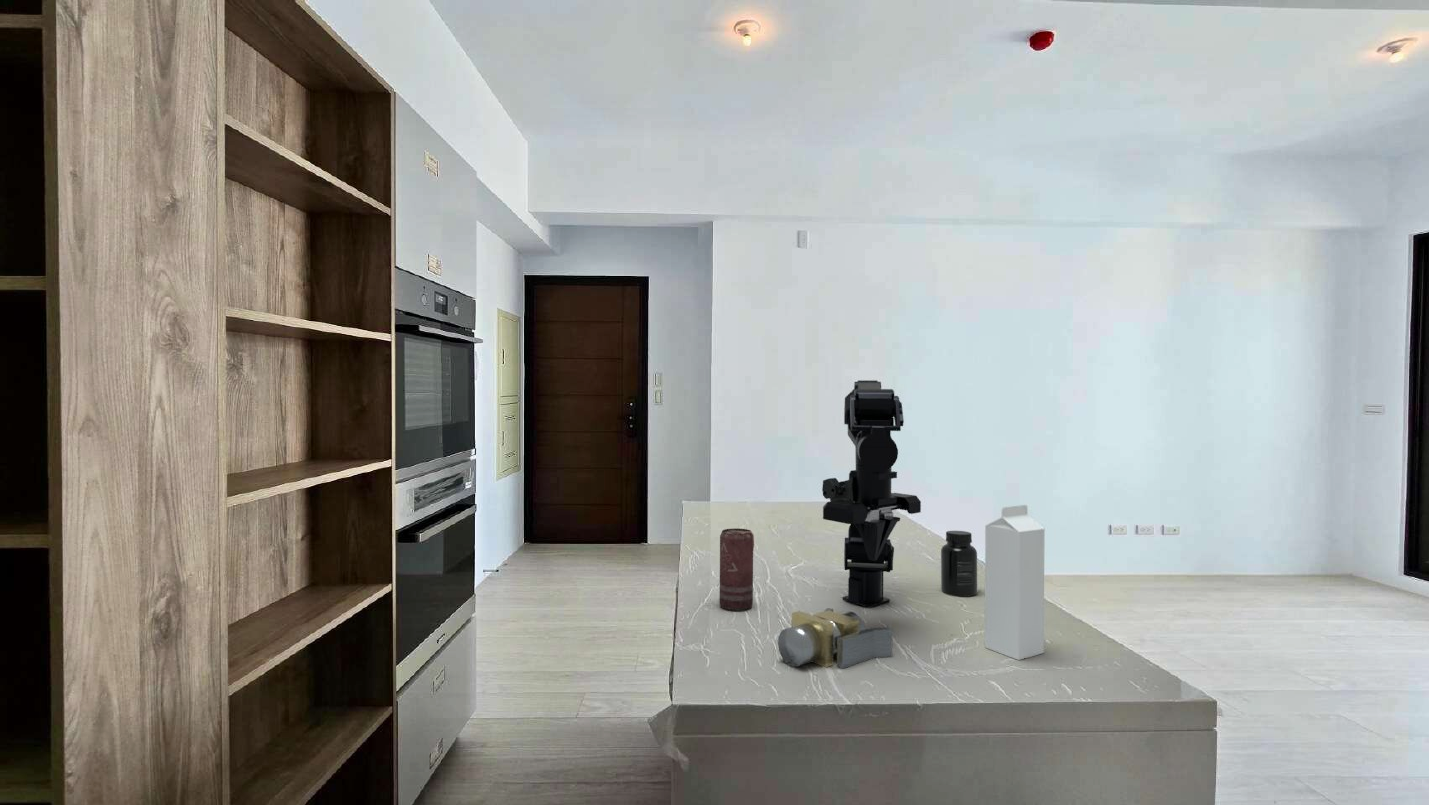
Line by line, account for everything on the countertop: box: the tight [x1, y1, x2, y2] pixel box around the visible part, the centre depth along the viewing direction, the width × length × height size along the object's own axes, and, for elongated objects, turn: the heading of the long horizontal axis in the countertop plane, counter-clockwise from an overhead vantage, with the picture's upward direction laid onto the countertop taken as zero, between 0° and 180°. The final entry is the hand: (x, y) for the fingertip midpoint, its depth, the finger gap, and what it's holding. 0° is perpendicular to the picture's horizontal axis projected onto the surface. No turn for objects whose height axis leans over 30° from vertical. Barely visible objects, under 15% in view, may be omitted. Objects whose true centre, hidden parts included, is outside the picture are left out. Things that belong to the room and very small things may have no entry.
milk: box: [984, 504, 1046, 661], centre depth 101 cm, size 6×6×22 cm
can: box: [718, 527, 755, 612], centre depth 122 cm, size 6×6×14 cm
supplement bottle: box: [940, 530, 978, 597], centre depth 133 cm, size 7×7×12 cm
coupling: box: [777, 607, 893, 670], centre depth 99 cm, size 15×13×6 cm
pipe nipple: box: [813, 610, 867, 659], centre depth 100 cm, size 8×6×5 cm
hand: (872, 559), depth 109 cm, fingers closed
